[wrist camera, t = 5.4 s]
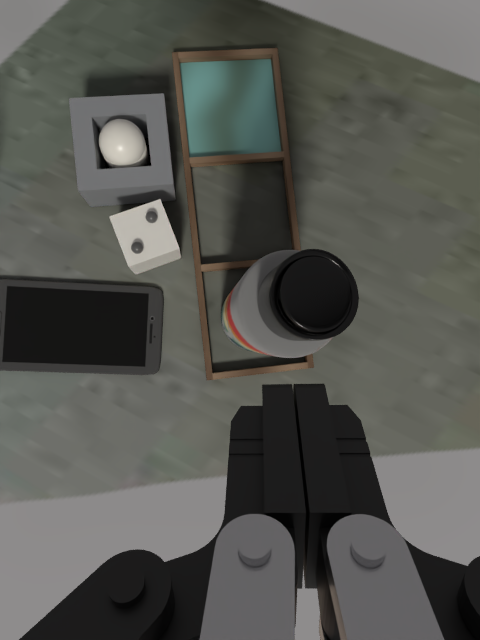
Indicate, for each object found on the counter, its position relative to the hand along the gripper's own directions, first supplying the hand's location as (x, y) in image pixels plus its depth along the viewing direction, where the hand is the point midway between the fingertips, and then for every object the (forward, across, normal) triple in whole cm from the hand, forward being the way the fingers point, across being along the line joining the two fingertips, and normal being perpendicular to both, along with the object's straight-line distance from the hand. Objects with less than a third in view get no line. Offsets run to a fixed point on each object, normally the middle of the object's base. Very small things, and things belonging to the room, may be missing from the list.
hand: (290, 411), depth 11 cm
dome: (+30, +11, -1) cm, 32 cm away
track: (+29, +2, +4) cm, 29 cm away
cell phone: (+23, +16, +11) cm, 30 cm away
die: (+27, +10, +5) cm, 29 cm away
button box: (+30, +12, -1) cm, 32 cm away
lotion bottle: (+25, +1, +11) cm, 27 cm away
